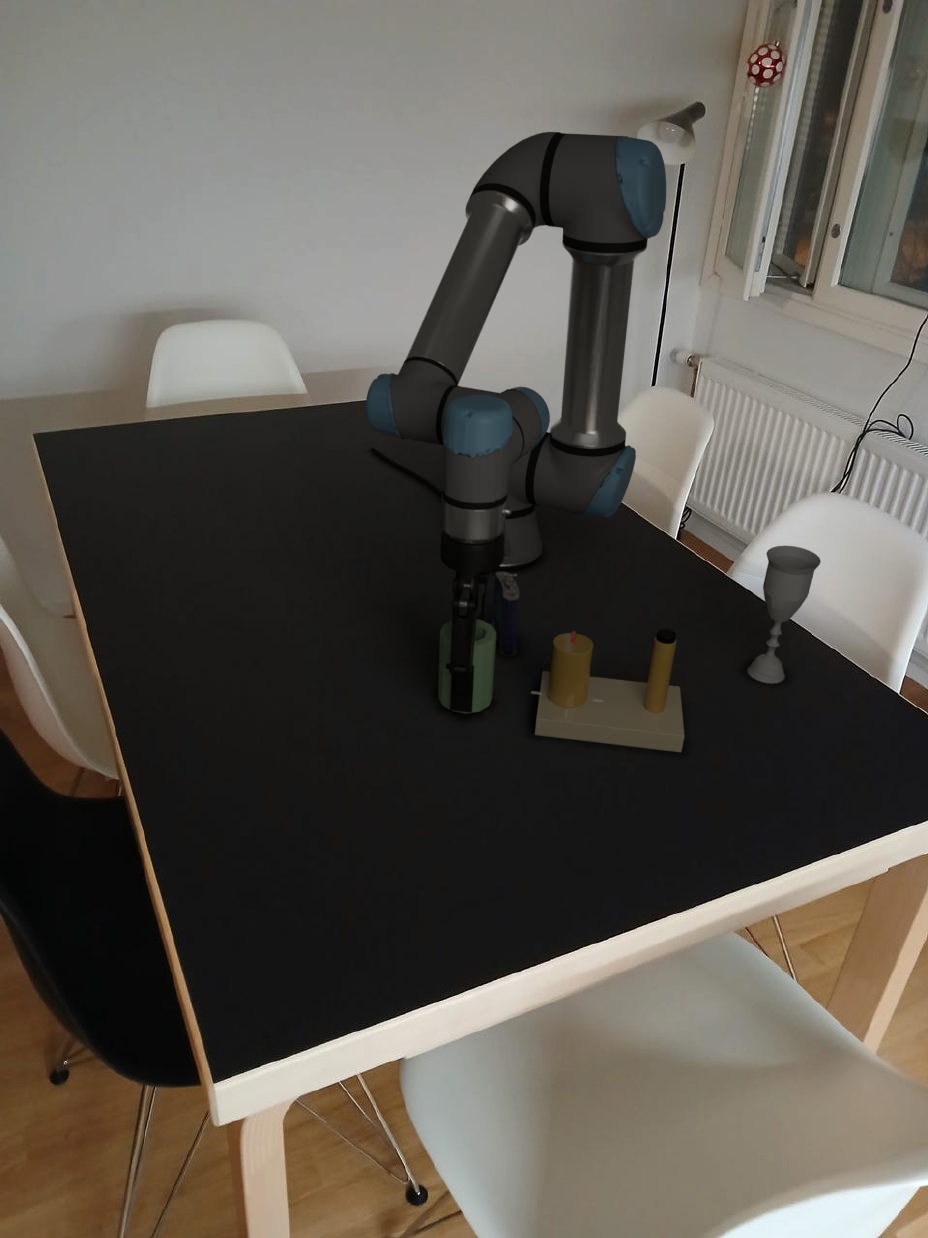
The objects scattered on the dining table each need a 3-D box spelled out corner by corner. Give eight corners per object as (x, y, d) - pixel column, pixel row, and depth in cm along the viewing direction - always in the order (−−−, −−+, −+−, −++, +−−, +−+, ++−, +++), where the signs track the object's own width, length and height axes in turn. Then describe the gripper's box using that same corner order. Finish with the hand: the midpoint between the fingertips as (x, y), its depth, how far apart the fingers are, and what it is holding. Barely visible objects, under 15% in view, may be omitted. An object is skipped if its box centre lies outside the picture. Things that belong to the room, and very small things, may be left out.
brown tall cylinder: (642, 721, 121) (656, 637, 115) (642, 709, 124) (655, 627, 118) (663, 723, 121) (678, 640, 115) (662, 712, 123) (677, 629, 117)
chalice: (751, 654, 139) (776, 540, 130) (798, 670, 136) (827, 555, 127) (733, 676, 133) (758, 559, 124) (781, 693, 130) (811, 574, 121)
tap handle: (586, 710, 120) (593, 653, 116) (546, 705, 121) (552, 649, 117) (587, 688, 125) (594, 632, 121) (548, 683, 125) (554, 628, 121)
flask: (489, 623, 143) (494, 558, 138) (509, 623, 144) (514, 558, 138) (500, 656, 135) (505, 589, 130) (521, 656, 136) (527, 588, 130)
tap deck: (525, 733, 120) (527, 716, 118) (533, 685, 129) (534, 669, 128) (681, 752, 118) (684, 735, 116) (677, 702, 127) (680, 685, 126)
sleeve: (428, 697, 125) (429, 631, 120) (464, 677, 129) (467, 612, 124) (466, 720, 121) (469, 652, 116) (502, 698, 125) (506, 632, 120)
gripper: (495, 572, 104) (484, 742, 116) (513, 501, 121) (502, 655, 133) (426, 565, 105) (423, 735, 116) (454, 495, 122) (448, 649, 133)
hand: (465, 692), depth 125 cm, fingers closed on sleeve, 7 cm apart
